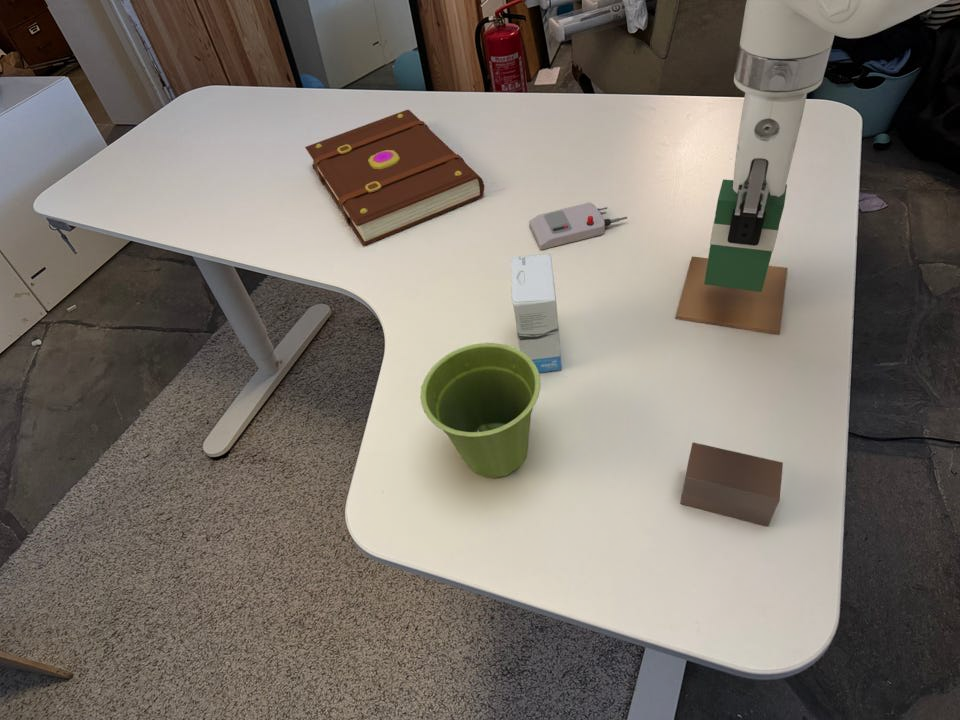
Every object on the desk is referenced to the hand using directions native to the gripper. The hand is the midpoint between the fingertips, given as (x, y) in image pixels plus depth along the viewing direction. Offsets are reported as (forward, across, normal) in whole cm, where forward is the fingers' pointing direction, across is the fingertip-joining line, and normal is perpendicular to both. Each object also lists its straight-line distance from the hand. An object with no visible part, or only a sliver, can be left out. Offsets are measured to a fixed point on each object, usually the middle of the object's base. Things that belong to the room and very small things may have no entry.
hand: (745, 228), depth 68 cm
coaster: (+12, +2, 0) cm, 12 cm away
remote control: (+12, +12, +24) cm, 29 cm away
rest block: (+12, -28, -3) cm, 30 cm away
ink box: (+12, -13, +21) cm, 27 cm away
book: (+12, +20, +60) cm, 64 cm away
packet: (+7, +2, 0) cm, 8 cm away
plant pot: (+12, -29, +21) cm, 38 cm away
